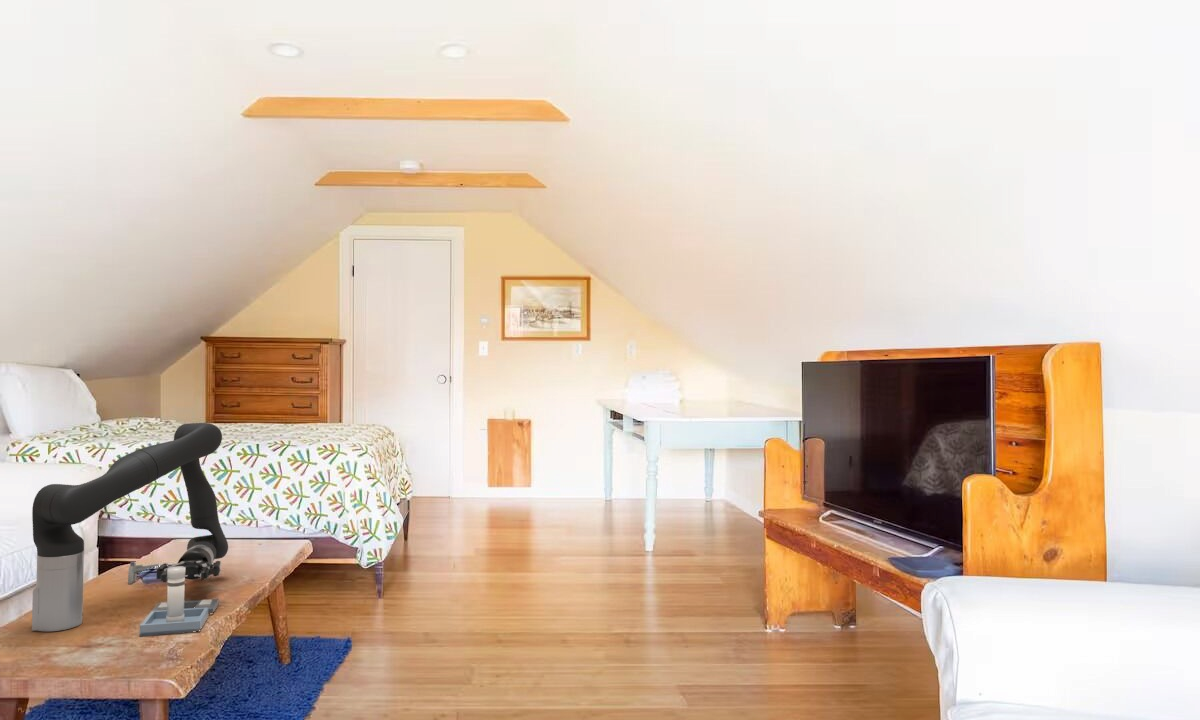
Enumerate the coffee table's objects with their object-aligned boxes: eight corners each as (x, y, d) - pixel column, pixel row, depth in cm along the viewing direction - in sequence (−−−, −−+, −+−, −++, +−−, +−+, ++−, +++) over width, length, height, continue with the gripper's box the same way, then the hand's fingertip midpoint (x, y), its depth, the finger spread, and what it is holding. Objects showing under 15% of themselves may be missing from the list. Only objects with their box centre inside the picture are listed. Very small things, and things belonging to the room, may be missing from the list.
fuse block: (149, 619, 195) (150, 610, 195) (158, 608, 204) (158, 600, 204) (212, 614, 199) (213, 606, 199) (218, 604, 208) (218, 596, 208)
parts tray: (139, 636, 183) (139, 625, 183) (151, 621, 193) (151, 611, 193) (200, 632, 186) (200, 621, 186) (208, 617, 197) (208, 607, 197)
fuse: (164, 626, 187) (165, 570, 187) (168, 621, 191) (169, 566, 191) (182, 625, 189) (183, 570, 189) (185, 619, 192) (187, 565, 192)
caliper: (132, 585, 224) (132, 563, 225) (127, 585, 224) (128, 563, 224) (160, 567, 245) (160, 546, 245) (156, 567, 244) (156, 546, 245)
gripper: (167, 548, 212) (151, 563, 196) (225, 546, 216) (215, 560, 200) (166, 577, 212) (151, 594, 196) (225, 574, 216) (214, 590, 200)
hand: (183, 577), depth 198 cm, fingers open, 8 cm apart
